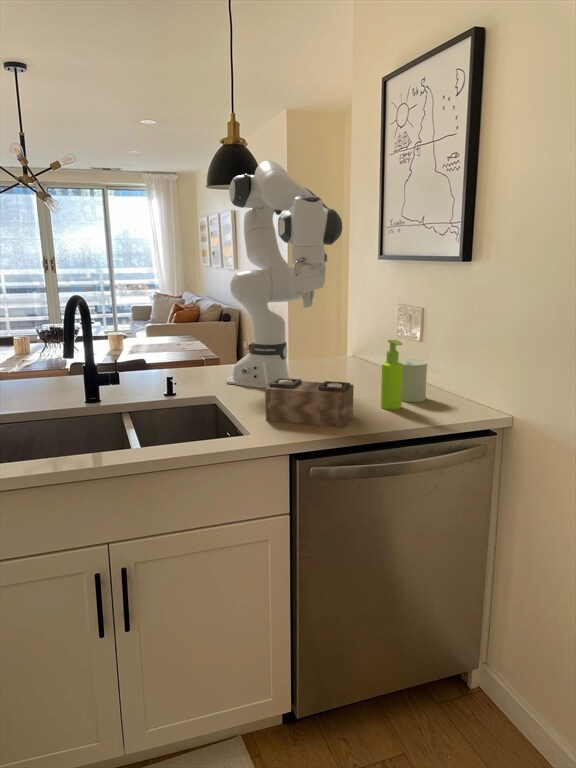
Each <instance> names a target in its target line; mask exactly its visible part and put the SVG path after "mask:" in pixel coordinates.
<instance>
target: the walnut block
mask: <svg viewBox="0 0 576 768" xmlns="http://www.w3.org/2000/svg"><path fill="white" fill-rule="evenodd" d="M280 380H292V381H293V383H292V384H284V383H279V381H280ZM330 383H339V384H342V387H327V384H330ZM264 388H265V389H264V391H265V392H264V394H265V399H264V401H265V402H264V403H265V421H269V422H270V421H272V422H283V423H292V424H293V423H294V424H303V425H313V426H322V427H323V426H325V427H334V426H335V427H336V428H345V427H346V425H347V424H348V423H349V421H351V419H352V418H353V417H354V384H351V382H346V381H345V382H344V381H329V380H325V381H324V382H319V381H304V380H302V379H301V378H300V379H299V378H290V379H288V378H277V379H276V380H274V381H272V382H271V383H269V386H268V387H264Z"/></svg>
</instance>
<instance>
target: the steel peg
mask: <svg viewBox="0 0 576 768" xmlns="http://www.w3.org/2000/svg"><path fill="white" fill-rule="evenodd" d="M327 387H342V384H339V383H330V384H327Z"/></svg>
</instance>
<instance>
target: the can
mask: <svg viewBox="0 0 576 768" xmlns="http://www.w3.org/2000/svg"><path fill="white" fill-rule="evenodd" d="M398 362H399V363H402V364H403V368H402V395H401V402H405V403H420V402H421V403H422V402H424V401H426V399H427V397H426V395H427V394H426V393H427V391H426V390H427V373H428V371H427V369H428V362H427V361H426V360H422V359H421V360H420V359H413V358H412V359H400V360H398Z"/></svg>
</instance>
